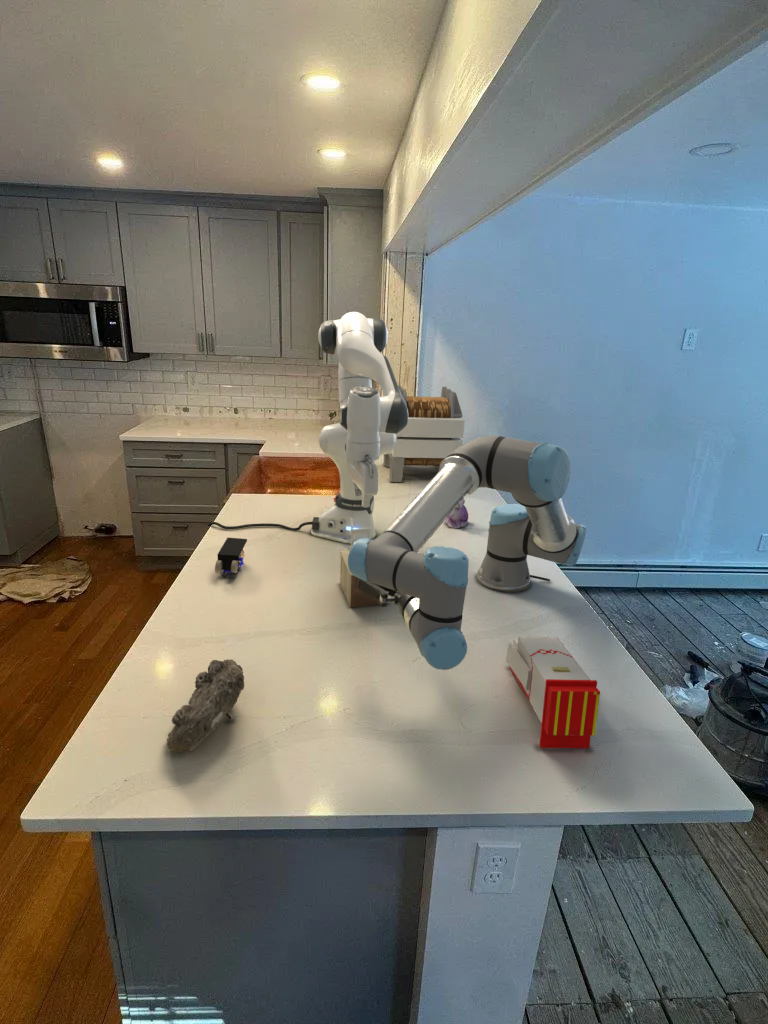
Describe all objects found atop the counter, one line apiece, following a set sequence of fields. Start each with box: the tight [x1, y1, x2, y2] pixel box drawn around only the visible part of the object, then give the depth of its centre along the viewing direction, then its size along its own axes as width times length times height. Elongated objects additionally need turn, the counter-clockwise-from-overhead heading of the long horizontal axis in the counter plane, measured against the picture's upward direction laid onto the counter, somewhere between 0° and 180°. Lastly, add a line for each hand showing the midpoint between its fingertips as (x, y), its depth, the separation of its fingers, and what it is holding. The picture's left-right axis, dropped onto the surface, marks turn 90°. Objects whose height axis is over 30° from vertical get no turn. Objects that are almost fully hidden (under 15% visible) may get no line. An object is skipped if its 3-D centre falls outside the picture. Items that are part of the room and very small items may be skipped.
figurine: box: [445, 497, 469, 529], centre depth 209 cm, size 9×10×15 cm
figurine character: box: [214, 537, 248, 578], centre depth 166 cm, size 7×8×15 cm
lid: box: [340, 528, 371, 575], centre depth 153 cm, size 14×10×8 cm
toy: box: [505, 636, 601, 749], centre depth 115 cm, size 12×13×30 cm
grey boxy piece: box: [383, 384, 465, 483], centre depth 268 cm, size 34×33×41 cm
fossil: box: [166, 658, 245, 754], centre depth 106 cm, size 22×10×15 cm
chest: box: [339, 555, 380, 608], centre depth 156 cm, size 14×10×9 cm
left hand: (361, 500), depth 153 cm, fingers open, 8 cm apart
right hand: (396, 569), depth 127 cm, fingers open, 13 cm apart
